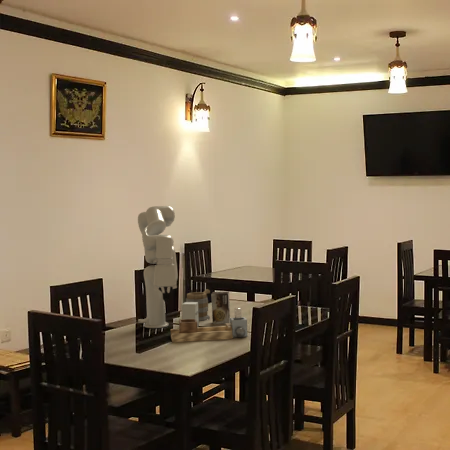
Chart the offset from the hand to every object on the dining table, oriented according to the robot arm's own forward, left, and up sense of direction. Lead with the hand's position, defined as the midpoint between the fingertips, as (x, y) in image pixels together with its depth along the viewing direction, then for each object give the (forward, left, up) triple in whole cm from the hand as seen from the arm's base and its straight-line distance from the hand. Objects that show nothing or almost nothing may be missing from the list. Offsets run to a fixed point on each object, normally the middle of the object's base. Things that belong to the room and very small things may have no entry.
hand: (166, 301), depth 325 cm
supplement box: (+13, +27, -18) cm, 35 cm away
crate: (+10, 0, -17) cm, 19 cm away
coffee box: (+30, +36, -18) cm, 51 cm away
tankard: (+21, +54, -18) cm, 61 cm away
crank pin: (+34, 0, -13) cm, 36 cm away
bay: (+16, 0, -18) cm, 24 cm away
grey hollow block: (+34, -1, -18) cm, 38 cm away
